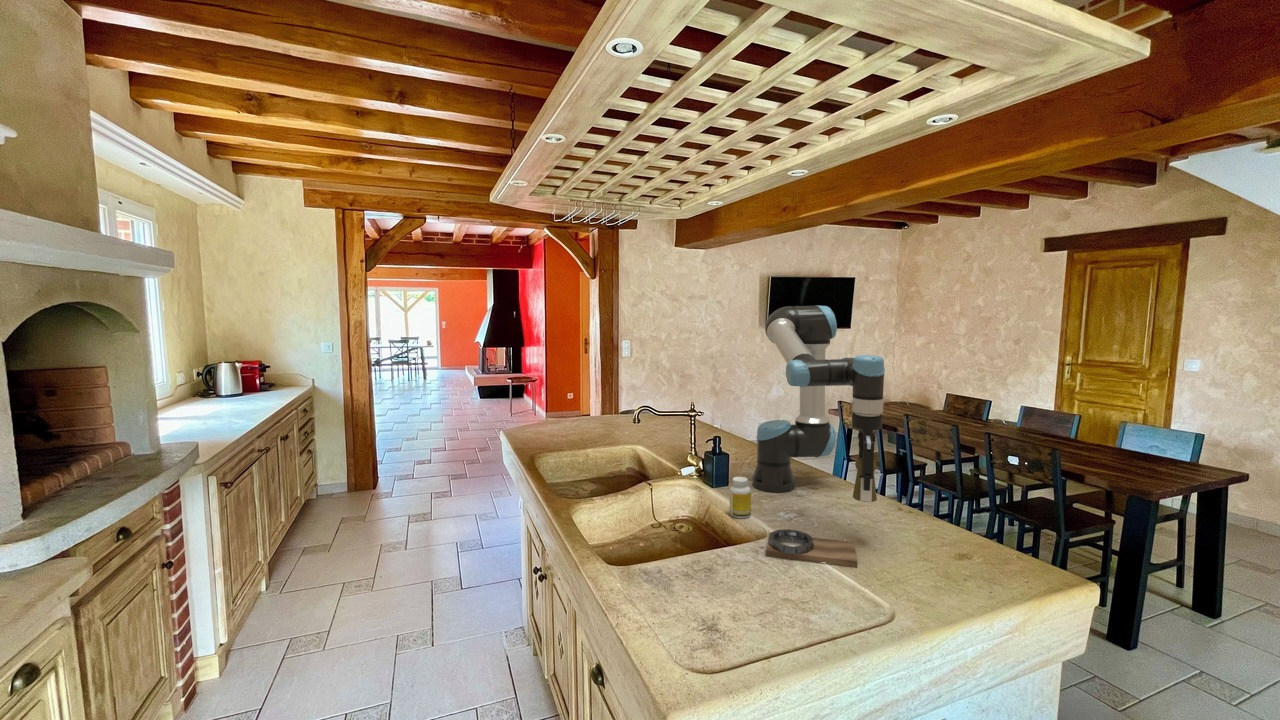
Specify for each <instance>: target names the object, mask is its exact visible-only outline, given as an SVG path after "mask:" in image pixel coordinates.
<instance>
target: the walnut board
mask: <svg viewBox="0 0 1280 720" xmlns="http://www.w3.org/2000/svg"><path fill="white" fill-rule="evenodd" d="M770 533H771V532H769V534H770ZM769 534H768V535H769ZM812 538H813V539H814V547H813V550H811V551H810V552H808V553H803V554H789V553H783V552H780V551H778V550H775V549H773V548H772V547H771V546H770V545H769V537H768V539H767V545H766V551H765V552H766V555H765V556H766V557H771V558H776V559H777V558H778V559H787V560H794V561H800V562H801V561H802V562H809V563H810V562H811V563H818V564H821V563H820V562H826V563H831V564H830V565H832V564H836V565H835V566H840V565H843V566H842V567H848V568H858V558H857V552H856V546H855V542H854V541H846V540H838V539H829V538H828V539H827V538H818V537H812Z"/></svg>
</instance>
